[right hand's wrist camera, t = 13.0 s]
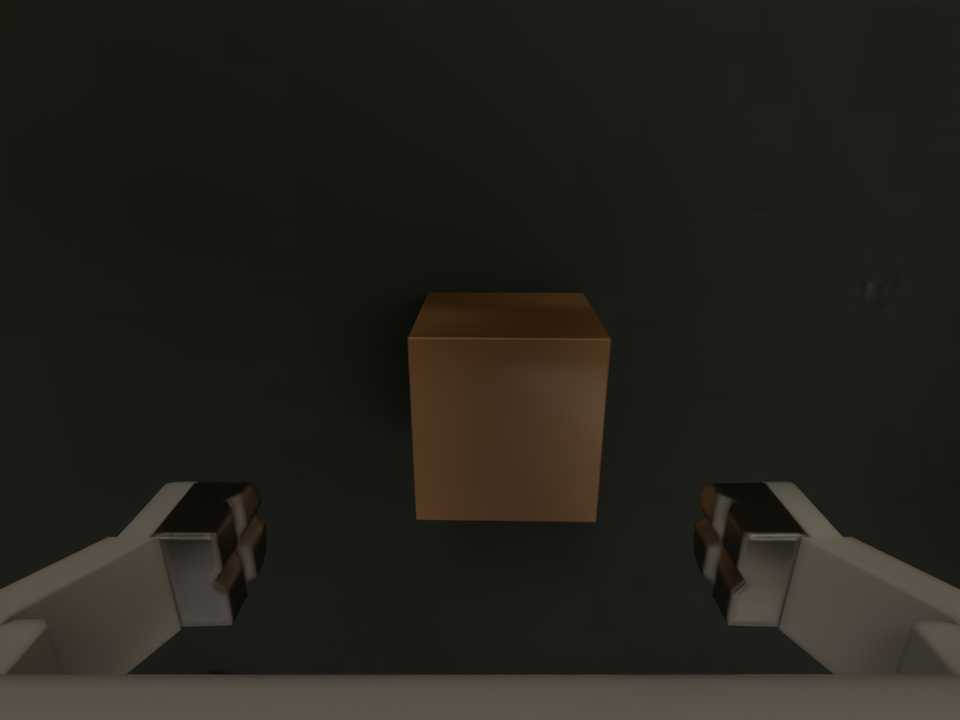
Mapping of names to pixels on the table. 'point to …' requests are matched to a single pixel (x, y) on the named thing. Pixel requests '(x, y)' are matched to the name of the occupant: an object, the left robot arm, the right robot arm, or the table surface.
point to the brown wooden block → (507, 406)
